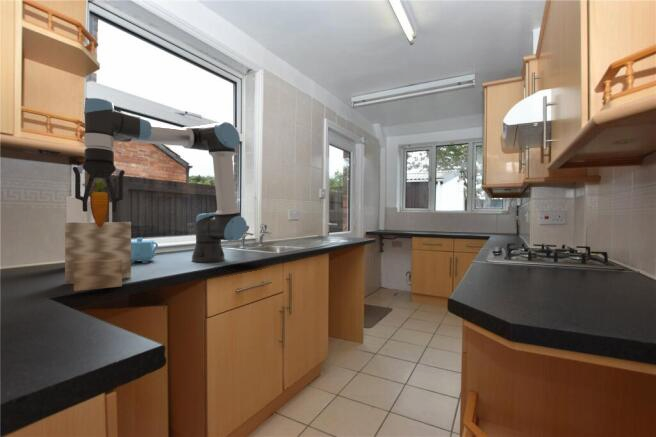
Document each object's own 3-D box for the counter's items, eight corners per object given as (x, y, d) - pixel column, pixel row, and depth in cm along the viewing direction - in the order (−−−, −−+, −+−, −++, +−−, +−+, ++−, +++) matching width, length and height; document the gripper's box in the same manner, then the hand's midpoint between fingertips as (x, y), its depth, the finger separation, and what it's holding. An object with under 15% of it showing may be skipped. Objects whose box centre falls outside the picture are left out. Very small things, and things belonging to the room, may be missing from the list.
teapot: (160, 258, 157) (160, 236, 157) (154, 264, 140) (154, 239, 140) (123, 260, 151) (123, 236, 151) (112, 266, 135) (112, 240, 134)
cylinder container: (79, 269, 126) (79, 195, 126) (60, 268, 128) (60, 195, 128) (100, 265, 136) (100, 196, 135) (82, 264, 138) (82, 196, 137)
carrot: (98, 226, 103) (98, 181, 102) (113, 227, 103) (112, 181, 102) (86, 227, 98) (85, 179, 97) (101, 227, 98) (101, 179, 97)
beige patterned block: (130, 277, 112) (130, 222, 112) (133, 284, 101) (133, 223, 101) (65, 283, 102) (65, 222, 102) (60, 292, 91) (60, 224, 91)
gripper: (131, 154, 108) (132, 221, 108) (64, 147, 97) (64, 222, 98) (133, 151, 102) (133, 222, 102) (61, 143, 91) (62, 222, 92)
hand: (100, 222), depth 100 cm, fingers closed on carrot, 5 cm apart
